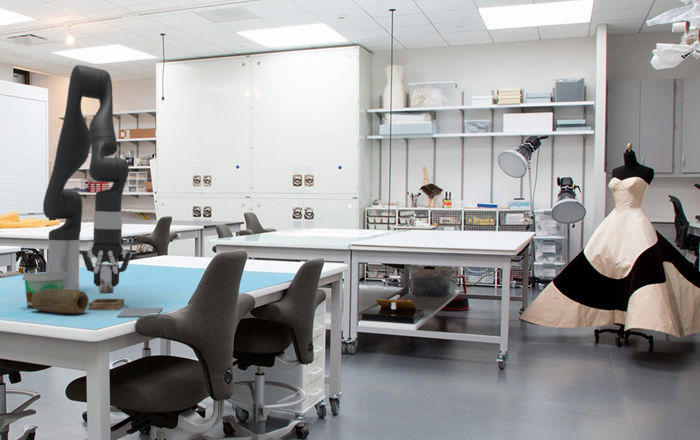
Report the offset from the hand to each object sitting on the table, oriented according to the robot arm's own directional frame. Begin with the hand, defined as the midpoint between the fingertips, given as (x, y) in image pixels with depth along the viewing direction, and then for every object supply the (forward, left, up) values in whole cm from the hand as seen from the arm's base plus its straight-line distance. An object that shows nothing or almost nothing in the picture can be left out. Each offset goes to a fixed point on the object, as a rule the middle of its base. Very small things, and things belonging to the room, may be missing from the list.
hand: (106, 285), depth 177 cm
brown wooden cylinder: (-10, -8, -7) cm, 15 cm away
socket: (0, 0, -6) cm, 6 cm away
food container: (-16, +1, -6) cm, 17 cm away
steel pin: (0, 0, -2) cm, 2 cm away
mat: (+11, -9, -6) cm, 16 cm away
